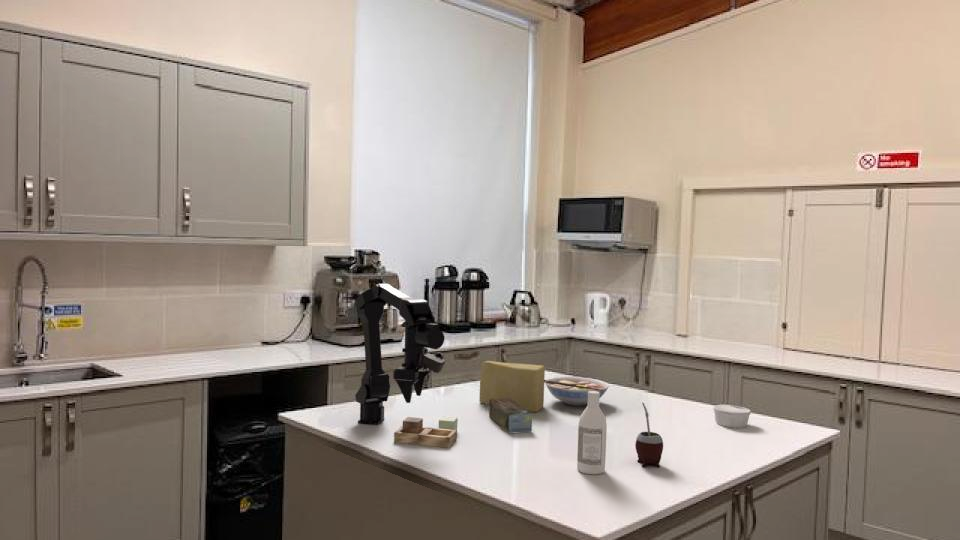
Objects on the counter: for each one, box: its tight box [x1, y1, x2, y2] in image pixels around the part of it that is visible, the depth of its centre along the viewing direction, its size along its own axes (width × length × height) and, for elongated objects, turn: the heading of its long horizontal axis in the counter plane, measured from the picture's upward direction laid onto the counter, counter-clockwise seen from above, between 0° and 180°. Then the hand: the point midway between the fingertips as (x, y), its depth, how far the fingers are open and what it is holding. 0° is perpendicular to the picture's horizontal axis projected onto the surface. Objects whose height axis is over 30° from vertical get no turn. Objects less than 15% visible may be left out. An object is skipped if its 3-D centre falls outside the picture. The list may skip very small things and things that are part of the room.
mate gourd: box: [634, 402, 664, 469], centre depth 181 cm, size 8×8×15 cm
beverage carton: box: [488, 398, 533, 433], centre depth 216 cm, size 8×19×7 cm, turn 17°
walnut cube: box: [402, 416, 424, 434], centre depth 196 cm, size 4×4×4 cm
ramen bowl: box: [544, 376, 610, 407], centre depth 246 cm, size 25×23×8 cm
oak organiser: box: [393, 425, 458, 448], centre depth 196 cm, size 16×8×3 cm, turn 77°
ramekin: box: [713, 404, 751, 429], centre depth 224 cm, size 11×11×5 cm
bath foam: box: [576, 391, 607, 476], centre depth 174 cm, size 7×7×20 cm
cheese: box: [479, 360, 546, 413], centre depth 239 cm, size 22×10×15 cm, turn 69°
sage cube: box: [438, 416, 459, 431], centre depth 204 cm, size 4×4×4 cm
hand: (413, 399), depth 196 cm, fingers open, 9 cm apart
